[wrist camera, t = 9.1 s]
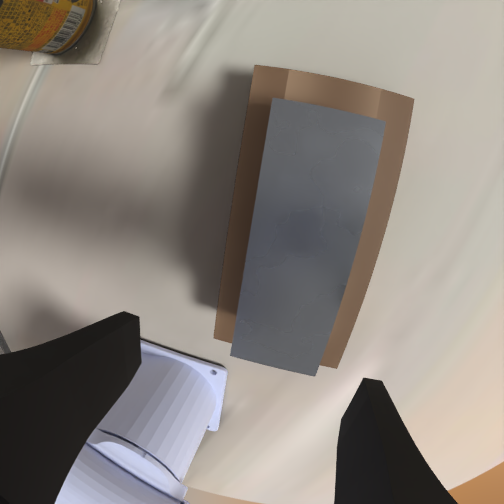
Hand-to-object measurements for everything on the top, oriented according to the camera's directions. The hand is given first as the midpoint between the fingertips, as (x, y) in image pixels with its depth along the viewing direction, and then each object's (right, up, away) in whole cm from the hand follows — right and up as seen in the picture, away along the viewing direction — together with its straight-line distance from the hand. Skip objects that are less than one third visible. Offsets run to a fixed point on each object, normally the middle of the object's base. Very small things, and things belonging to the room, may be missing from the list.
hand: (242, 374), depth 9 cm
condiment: (-13, +21, +7) cm, 26 cm away
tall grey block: (+3, +6, +8) cm, 11 cm away
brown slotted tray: (+3, +6, +8) cm, 11 cm away
